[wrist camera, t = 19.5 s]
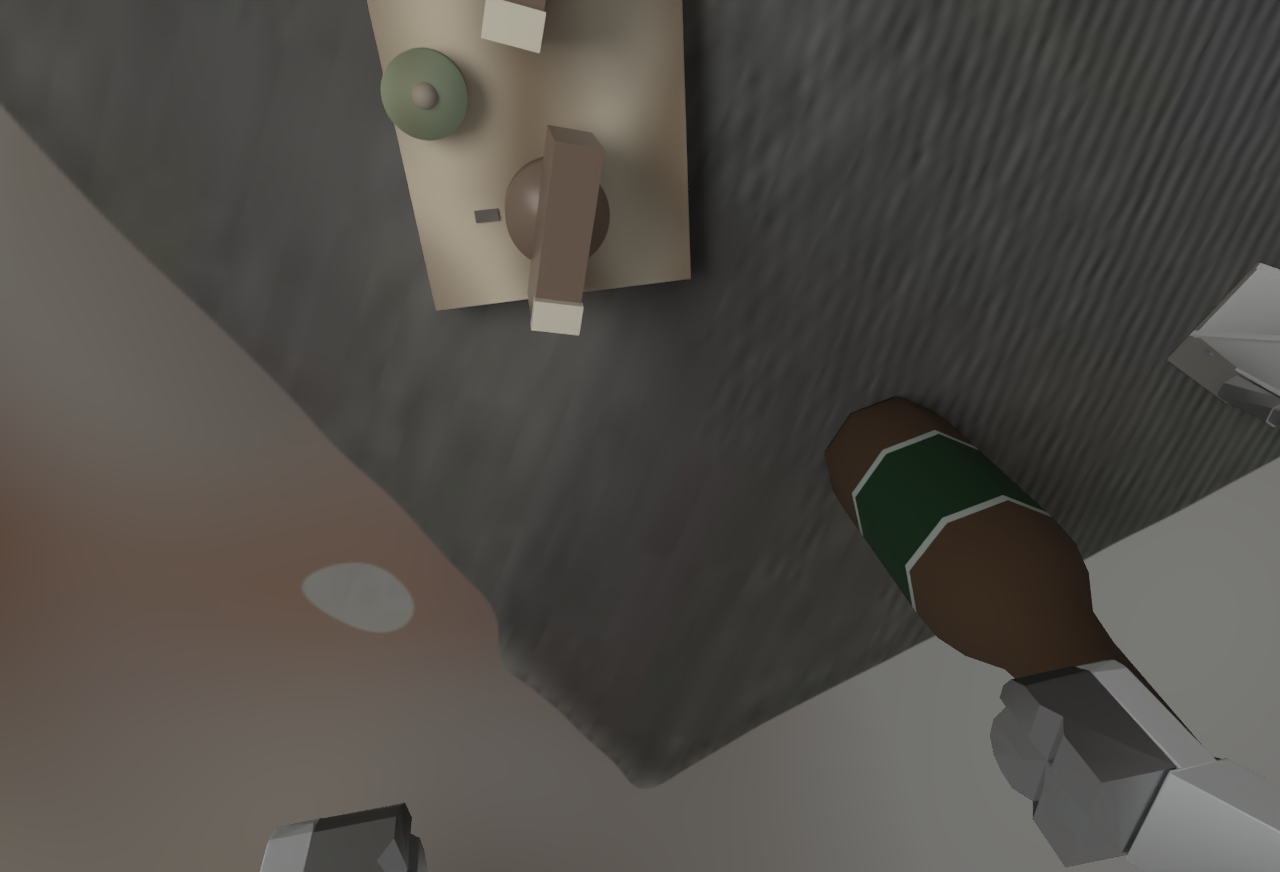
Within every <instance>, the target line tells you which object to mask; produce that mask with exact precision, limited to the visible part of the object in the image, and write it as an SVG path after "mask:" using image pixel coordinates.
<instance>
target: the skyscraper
mask: <svg viewBox="0 0 1280 872" xmlns="http://www.w3.org/2000/svg"><path fill="white" fill-rule="evenodd" d="M1166 360H1167V361H1169V362H1170V363H1171V364H1173V365H1174V366H1175V367H1177V368H1178V369H1179V370H1181V371H1182V372H1184V373H1185V374H1186V375H1188V376H1189V377H1190V378H1192V379H1193V380H1194V381H1196V382H1197V383H1198V384H1200V385H1201V386H1203V387H1204V388H1205V389H1207V390H1208V391H1209V392H1211V393H1212V394H1213V395H1215V396H1216V397H1217V398H1219V399H1220V400H1222V401H1223V402H1224V403H1226V404H1227V405H1228V404H1229V403H1230V404H1232V405H1234V406H1236V407H1238V408H1240V409H1242V410H1244V411H1246V412H1248V413H1250V414H1252V415H1254V416H1256V417H1257V418H1259V419H1261V420H1263V421H1265V422H1266V423H1268V424H1269V425H1271V426H1272V427H1275V426H1277V427H1279V428H1280V398H1279V397H1277V396H1275V395H1273V394H1271V393H1269V392H1267V391H1266V390H1264V389H1262V388H1260V387H1258V386H1256V385H1254V384H1252V383H1251V381H1254V382H1255V383H1257V384H1259V385H1261V386H1262V387H1264V388H1266V389H1267V390H1269V391H1271V392H1273V393H1274V394H1276V395H1278V396H1280V269H1277V268H1274V267H1271V266H1268V265H1265V264H1262V263H1259V262H1257V264H1256V265H1255V266H1254V267H1253V268H1252V269H1251V270H1250V271H1249V272H1248V273H1247V274H1246V275H1245V276H1244V277H1243V278H1242V280H1241V281H1240V282H1239V283H1238V284H1237V285H1236V286H1235V287H1234V288H1233V289H1232V290H1231V291H1230V292H1229V293H1228V294H1227V296H1226V297H1225V298H1224V299H1223V300H1222V301H1221V302H1220V303H1219V304H1218V305H1217V306H1216V307H1215V308H1214V309H1213V310H1212V312H1211V313H1210V314H1209V315H1208V316H1207V317H1206V318H1205V319H1204V320H1203V321H1202V322H1201V323H1200V324H1199V325H1198V326H1197V328H1196V329H1195V330H1194V331H1193V332H1192V333H1191V334H1190V335H1189V336H1188V337H1187V338H1186V339H1185V340H1184V341H1183V342H1182V343H1181V345H1180V346H1179V347H1178V348H1177V349H1176V350H1175V351H1174V352H1173V353H1172V354H1171V355H1170V356H1169V357H1168V358H1167V359H1166Z"/></svg>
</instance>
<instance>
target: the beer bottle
mask: <svg viewBox="0 0 1280 872" xmlns="http://www.w3.org/2000/svg"><path fill="white" fill-rule="evenodd" d="M825 457H826V461H827V466H828V470H829V474H830V478H831V483H832V487H833V491H834V493H835V494H836V496H837V498H838V500H839V501H840V503H841V505H842V506H843V508H844V510H845V511H846V512H847V514H848V515H849V517H850V518H851V520H852V521H853V522H854V524H855V525H856V527H857V528H858V530H859V531H860V532H861V534H862V535H863V537H864V538H865V540H866V541H867V542H868V544H869V545H870V547H871V548H872V550H873V551H874V552H875V554H876V555H877V557H878V558H879V560H880V561H881V562H882V564H883V565H884V567H885V568H886V570H887V571H888V572H889V574H890V575H891V577H892V578H893V580H894V581H895V582H896V584H897V585H898V587H899V588H900V590H901V591H902V592H903V594H904V595H905V597H906V598H907V600H908V601H909V602H910V604H911V605H912V607H913V608H914V610H915V611H916V612H917V614H918V615H919V616H920V617H921V618H922V619H923V621H924V622H925V623H926V624H927V625H928V627H929V628H930V629H931V630H932V631H933V633H934V634H935V635H936V636H937V637H938V638H939V639H941V640H942V641H944V642H945V643H947V644H949V645H950V646H952V647H953V648H955V649H956V650H958V651H959V652H961V653H962V654H964V655H965V656H968V657H971V658H974V659H977V660H979V661H983V662H985V663H988V664H991V665H994V666H997V667H1000V668H1003V669H1005V670H1006V671H1007V672H1008V673H1010V674H1011V675H1012V676H1013V677H1014V678H1020V677H1025V676H1029V675H1034V674H1038V673H1043V672H1047V671H1052V670H1056V669H1061V668H1065V667H1070V666H1080V665H1084V664H1089V663H1093V662H1098V661H1102V660H1115V661H1117V662H1119V663H1121V664H1123V665H1124V666H1125V667H1126V668H1128V669H1129V671H1130V672H1131V673H1132V674H1133V675H1134V676H1135V677H1136V678H1137V679H1138V680H1139V681H1140V682H1141V683H1142V684H1143V685H1144V686H1145V687H1146V688H1147V689H1148V690H1149V691H1150V692H1151V693H1152V694H1153V695H1154V696H1155V697H1156V698H1157V699H1158V700H1159V701H1160V702H1161V703H1162V705H1163V706H1164V707H1165V708H1166V709H1167V710H1168V711H1169V712H1170V713H1171V714H1172V715H1173V716H1174V717H1175V718H1176V719H1177V720H1178V721H1179V722H1180V723H1181V724H1182V725H1183V726H1184V727H1185V728H1186V729H1187V730H1188V731H1189V729H1188V728H1187V727H1186V726H1185V725H1184V724H1183V722H1182V721H1181V720H1180V719H1179V718H1178V717H1177V716H1176V714H1175V713H1174V712H1173V711H1172V710H1171V708H1170V707H1169V706H1168V705H1167V704H1166V703H1165V702H1164V700H1163V699H1162V698H1161V697H1160V696H1159V695H1158V693H1157V692H1156V691H1155V690H1154V689H1153V688H1152V686H1151V685H1150V684H1149V683H1148V682H1147V681H1146V680H1145V678H1144V677H1143V676H1142V675H1141V674H1140V672H1139V671H1138V670H1137V669H1136V668H1135V667H1134V666H1133V664H1132V663H1131V662H1130V661H1129V660H1128V659H1127V657H1126V656H1125V655H1124V654H1123V653H1122V652H1121V650H1120V649H1119V648H1118V647H1117V646H1116V645H1115V644H1114V642H1113V641H1112V639H1111V638H1110V636H1109V635H1108V633H1107V632H1106V630H1105V629H1104V627H1103V626H1102V624H1101V623H1100V622H1099V620H1098V618H1097V617H1096V615H1095V614H1094V612H1093V608H1092V599H1091V590H1090V581H1089V573H1088V570H1087V568H1086V566H1085V563H1084V561H1083V559H1082V557H1081V554H1080V552H1079V550H1078V548H1077V545H1076V543H1075V542H1074V541H1073V540H1072V539H1071V537H1070V536H1069V535H1068V534H1067V533H1066V532H1065V531H1064V530H1063V529H1062V528H1061V526H1060V525H1059V524H1058V523H1057V522H1056V521H1055V520H1054V519H1053V518H1052V517H1051V516H1050V515H1049V514H1048V513H1047V512H1046V511H1045V510H1044V509H1043V508H1042V507H1040V506H1039V505H1038V504H1037V503H1036V502H1035V501H1034V500H1033V499H1032V498H1031V497H1029V496H1028V495H1027V494H1026V493H1025V492H1024V491H1023V490H1022V489H1021V488H1020V487H1019V486H1017V485H1016V484H1015V483H1014V482H1013V481H1012V480H1011V479H1010V478H1009V477H1008V476H1007V475H1005V474H1004V473H1003V472H1002V471H1001V470H1000V469H999V468H998V467H997V466H996V465H995V464H993V463H992V462H991V461H990V460H989V459H988V458H987V457H986V456H985V455H984V454H982V453H981V452H980V451H979V450H978V449H977V448H976V447H975V446H974V445H973V444H972V443H970V442H969V441H968V440H967V439H966V438H965V437H964V436H963V435H962V434H961V433H960V432H958V431H957V430H956V429H955V428H954V427H953V426H952V425H951V424H949V423H948V422H947V421H945V420H944V419H943V418H941V417H940V416H939V415H938V414H936V413H935V412H933V411H930V410H928V409H926V408H923V407H921V406H919V405H916V404H914V403H912V402H909V401H907V400H905V399H902V398H900V397H892V398H890V399H887V400H884V401H882V402H879V403H876V404H874V405H871V406H869V407H866V408H863V409H861V410H858V411H856V412H853V413H850V415H849V416H848V418H847V419H846V421H845V422H844V424H843V425H842V427H841V428H840V430H839V431H838V433H837V434H836V436H835V437H834V439H833V440H832V442H831V443H830V445H829V446H828V448H827V449H826V451H825ZM1189 732H1190V731H1189ZM1190 733H1191V732H1190ZM1191 734H1192V733H1191ZM1192 735H1193V734H1192ZM1193 736H1194V735H1193ZM1194 738H1195V736H1194ZM1195 739H1196V738H1195ZM1196 740H1197V739H1196ZM1197 741H1198V740H1197ZM1198 742H1199V741H1198ZM1199 743H1200V742H1199ZM1200 744H1201V743H1200ZM1214 758H1215V757H1214ZM1215 759H1216V760H1219V759H1220V758H1215Z"/></svg>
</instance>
